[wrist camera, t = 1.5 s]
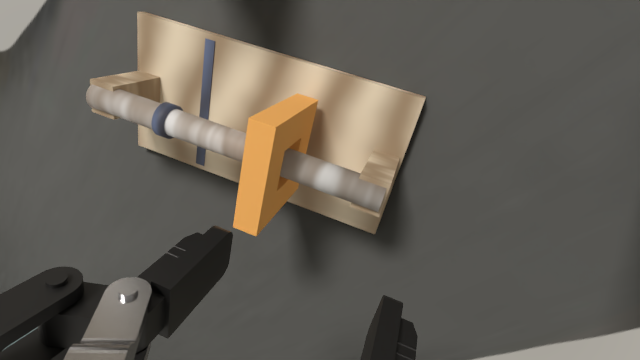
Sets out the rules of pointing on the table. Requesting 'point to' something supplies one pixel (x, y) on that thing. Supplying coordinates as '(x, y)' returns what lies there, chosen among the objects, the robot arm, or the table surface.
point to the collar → (271, 160)
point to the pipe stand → (253, 97)
